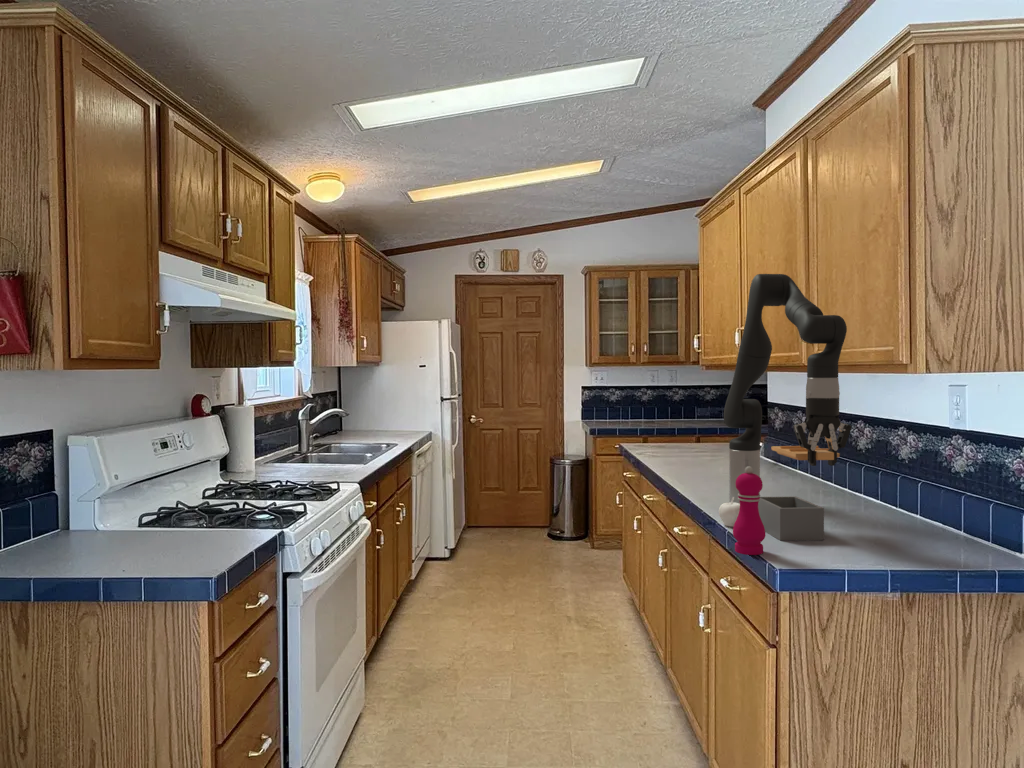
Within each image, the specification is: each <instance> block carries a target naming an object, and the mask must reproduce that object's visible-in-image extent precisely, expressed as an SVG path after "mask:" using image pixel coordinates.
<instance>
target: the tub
mask: <svg viewBox="0 0 1024 768" xmlns="http://www.w3.org/2000/svg"><path fill="white" fill-rule="evenodd" d="M758 510H759V515H760V518H761V520H762V523H763V525H764V528H765V533H767V534H768V535H770V536H772V537H773V538H775V539H776V540H779V541H824V540H825V507H822V506H820V505H818V504H815V503H813V502H810V501H807V500H805V499H803V498H801V497H798V496H794V495H793V496H792V495H791V496H760V501H759V502H758Z"/></svg>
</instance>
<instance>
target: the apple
mask: <svg viewBox="0 0 1024 768" xmlns="http://www.w3.org/2000/svg"><path fill="white" fill-rule="evenodd" d="M733 500H734V497H733V498H732V501H731V503H730V502H724V503H722V504H720V506H719V508H718V514H719V515H718V516H719V517H720V520H721V522H722V523H723V525H724V526H726V527H729V528H733V527H734V524H735V521H736V519H737V517H738V514H739V509H740V503H735V502H734V503H733Z"/></svg>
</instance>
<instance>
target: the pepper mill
mask: <svg viewBox="0 0 1024 768" xmlns="http://www.w3.org/2000/svg"><path fill="white" fill-rule="evenodd" d="M745 472H746V473H743V474H741V475H739V476H738V477H737V479H736V483H735V484H736V488H737V490H738V491H739V493H738V500H740V509H739V514H738V517H737V519H736V521H735V524H734V527H732V536H733V537H734V539H735V540H736V542H735V543H734V551H735V552H736V553H738V554H740V555H746V556H759V555H762V554H764V545H763V544H762V542H763V541H764V540H765V538H766V532H765V528H764V525H763V523H762V520H761V518H760V515H759V510H758V502H759V501H760V497H761V491H762V490H763V486H764V485H763V480H762V477H761V476H760V477H759V476H758V475H756V474H753V473H752V472H753V469H752V467H750V466H748V467H746V468H745ZM759 492H760V494H759Z"/></svg>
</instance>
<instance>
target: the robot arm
mask: <svg viewBox="0 0 1024 768" xmlns="http://www.w3.org/2000/svg"><path fill="white" fill-rule="evenodd" d="M782 306H783V307H784V314H785V317H786V319H788V321H789V322H790V323H791V324H793V325H794V327H796V328H797V331H798V333H799V336H800V339H801V340H802V341H803V342H805V343H807V344H813V345H818V344H819V345H820V344H822V345H823V344H824V346H825V347H824V349H823V350H822V351H821V352H817V353H812V354H810V355H809V356H808V357H807V363H806V365H807V366H806V377H807V378H806V387H805V420H804V421H803V422H802V423H799V424H796V423H795V424H793V430H794V433H795V436H796V439H797V442H798V446H800V447H803V448H806V449H807V451H808V460H807V463H808V464H809V465H810V466H811V467H816V466H817V460H816V451H815V449H816V446H818V445H817V444H818V443H819V440H820V438H825V441H826V443H827V447H828V449H829V450H828V451H830V452H834V460H827V464H828V465H829V466H832V467H834V466H835V465H836V464H837V462H838V457H837V453H838V451H839V450H840V449H844V448H845V447H846V445H847V442H848V439H849V436H850V433H851V431H852V428H853V427H852V425H851V424H848V423H842V422H841V420H840V417H839V416H840V394H841V392H840V383H839V362H840V357H841V353H842V349H843V346H844V343H845V339H846V337H847V331H848V328H847V327H848V326H847V323H846V321H845V319H844V317H842V316H840V315H838V314H827V315H826V314H824V313H823V311H822V309H821V308H819V307H818V306H817V305H816V304H815V303H814V302H811V300H809V299H808V298H806V296H805V295H804V294H803V292H802V290H801V289H800V288H799V287H798V285H797V284H796V282H795V281H794V280H793V278H792V277H790V276H789V275H787V274H784V273H759V274H756V275H754V277H753V279H752V280H751V284H750V287H749V293H748V301H747V307H746V309H747V310H746V316H745V323H744V328H743V331H742V336H741V341H740V344H739V348H738V353H737V358H736V364H735V369H734V373H733V374H734V375H733V379H732V383H731V386H730V389H729V391H728V394H727V398H726V401H725V405H724V408H723V409H724V410H723V422H724V424H725V426H726V427H728V428H730V429H731V428H732V429H745V430H744V432H743V433H742V434H741V435H739V436H737V437H735V438H732V439H730V441H729V445H728V447H729V451H728V452H729V455H728V457H729V459H728V460H729V464H728V465H729V476H728V477H729V480H728V481H729V493H728V495H729V497H728V499H729V502H730V503H731V501H732V498H733V497H734V500H733V503H734V502H735V503H740V500H738V493H739V491H738V490H737V488H736V484H735V483H736V479H737V477H738V476H739V475H741V474H743V473H746V472H745V468H746V467H748V466H750V467H752V469H753V472H752V473H753V474H756V475H758V476H759V477H760V478H761V460H760V459H761V457H760V456H761V453H760V452H761V441H762V440H761V439H762V425H763V408H762V405H761V403H760V401H759V400H758V399H755V398H745V396H746V393H747V392H748V391H749V389H750V388H751V387H752V386H753V385H754V384H755V383H756V382H757V381H758V380H759V379H760V378H761V377H762V376H763V375H764V373H765V372H766V371H767V369H768V366H769V365H770V359H771V355H772V351H773V346H772V341H771V339H770V337H769V335H768V332H767V330H766V328H765V325H764V323H763V309H764V307H782ZM806 429H807V430H808V432H809V433H808V437H806V434H805V432H806ZM837 430H838V431H839V433H838V436H837V435H836V431H837ZM759 494H760V495H761V491H760V492H759Z"/></svg>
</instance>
